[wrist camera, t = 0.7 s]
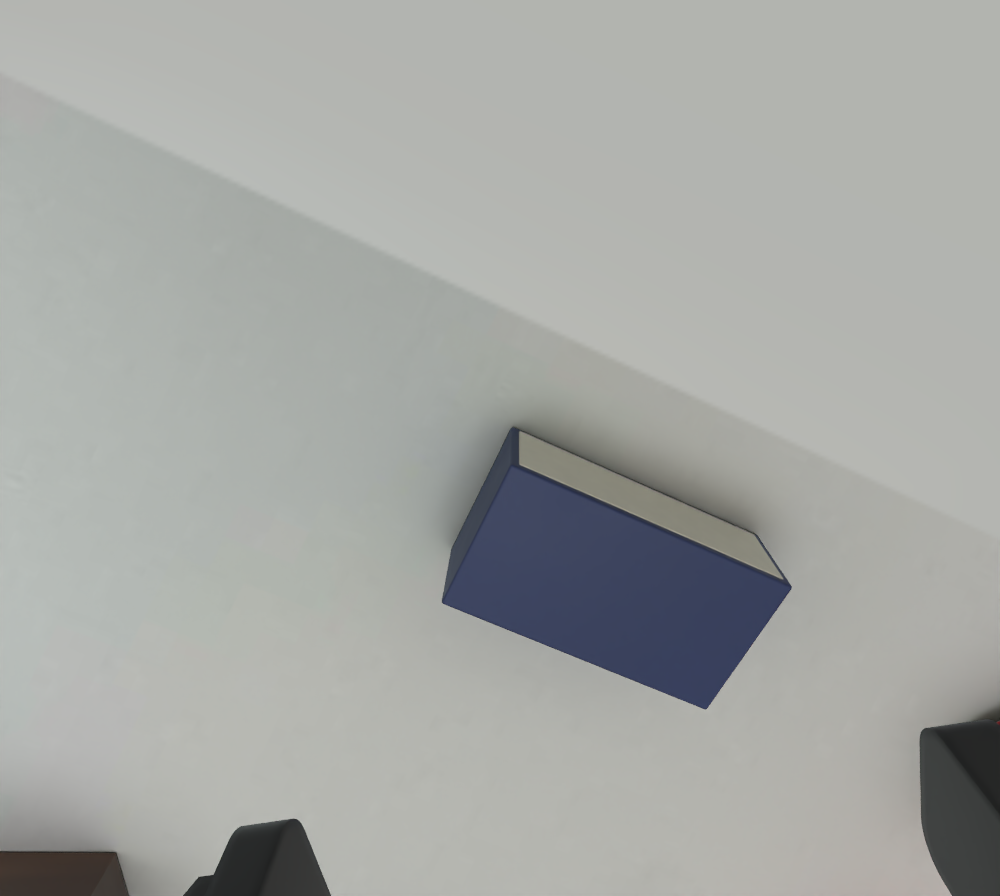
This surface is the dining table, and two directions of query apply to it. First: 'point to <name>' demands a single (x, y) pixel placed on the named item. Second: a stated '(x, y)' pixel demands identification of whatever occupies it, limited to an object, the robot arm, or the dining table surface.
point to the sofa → (60, 874)
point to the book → (611, 571)
